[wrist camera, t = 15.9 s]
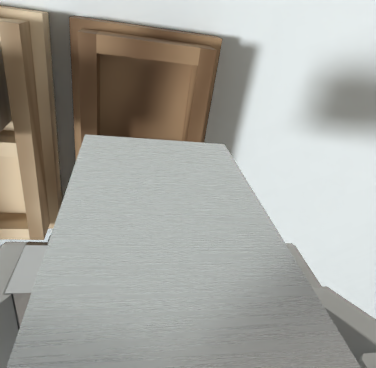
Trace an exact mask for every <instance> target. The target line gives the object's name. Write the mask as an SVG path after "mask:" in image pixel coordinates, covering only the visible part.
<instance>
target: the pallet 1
mask: <svg viewBox="0 0 376 368" xmlns="http://www.w3.org/2000/svg"><path fill="white" fill-rule="evenodd" d="M61 204H62V194H61V180H60V167H59V153H58V140H57V126H56V112H55V99H54V85H53V71H52V58H51V44H50V31H49V17H48V12H44V11H37V10H30V9H23V8H16V7H9V6H2V5H0V239H25V240H44V238H45V235H46V233H47V230H48V228H54V225H55V222H56V219H57V216H58V213H59V210H60V207H61Z"/></svg>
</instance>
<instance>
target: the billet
mask: <svg viewBox="0 0 376 368" xmlns="http://www.w3.org/2000/svg"><path fill="white" fill-rule="evenodd" d="M6 368H361V367H360V365H359V363H358V362H357V360H356V358H355V357H354V355H353V354H352V352H351V350H350V349H349V347H348V345H347V344H346V342H345V340H344V339H343V337H342V336H341V334H340V332H339V331H338V329H337V327H336V326H335V324H334V322H333V321H332V319H331V318H330V316H329V314H328V313H327V311H326V309H325V308H324V306H323V304H322V303H321V301H320V300H319V298H318V296H317V295H316V293H315V291H314V290H313V288H312V286H311V285H310V283H309V282H308V280H307V278H306V277H305V275H304V273H303V272H302V270H301V268H300V267H299V265H298V264H297V262H296V260H295V259H294V257H293V255H292V254H291V252H290V250H289V249H288V247H287V246H286V244H285V242H284V241H283V239H282V237H281V236H280V234H279V232H278V231H277V229H276V228H275V226H274V224H273V223H272V221H271V219H270V218H269V216H268V214H267V213H266V211H265V210H264V208H263V206H262V205H261V203H260V201H259V200H258V198H257V196H256V195H255V193H254V192H253V190H252V188H251V187H250V185H249V183H248V182H247V180H246V178H245V177H244V175H243V174H242V172H241V170H240V169H239V167H238V165H237V164H236V162H235V160H234V159H233V157H232V156H231V154H230V152H229V151H228V149H227V147H226V146H225V144H215V143H201V142H187V141H172V140H158V139H144V138H130V137H115V136H101V135H87V134H85V136H84V139H83V142H82V145H81V148H80V151H79V154H78V157H77V159H76V162H75V165H74V168H73V171H72V174H71V177H70V180H69V183H68V186H67V189H66V192H65V195H64V198H63V201H62V204H61V207H60V210H59V213H58V216H57V219H56V222H55V225H54V228H53V231H52V234H51V237H50V240H49V243H48V246H47V249H46V251H45V254H44V257H43V260H42V263H41V266H40V269H39V272H38V275H37V278H36V281H35V284H34V287H33V290H32V293H31V296H30V299H29V302H28V305H27V308H26V311H25V314H24V317H23V320H22V323H21V326H20V329H19V332H18V335H17V338H16V340H15V343H14V346H13V349H12V352H11V355H10V358H9V361H8V364H7V367H6Z"/></svg>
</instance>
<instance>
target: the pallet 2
mask: <svg viewBox="0 0 376 368" xmlns="http://www.w3.org/2000/svg"><path fill="white" fill-rule="evenodd" d="M69 24H70V46H71V69H72V92H73V114H74V137H75V159H77V157H78V154H79V151H80V148H81V145H82V142H83V139H84V136H85V134H87V135H101V136H115V137H130V138H144V139H158V140H172V141H187V142H201V143H204V139H205V133H206V128H207V122H208V117H209V111H210V105H211V100H212V94H213V88H214V83H215V77H216V71H217V66H218V60H219V55H220V49H221V43H222V39H221V38H219V37H217V36H211V35H204V34H197V33H190V32H183V31H176V30H169V29H162V28H155V27H148V26H141V25H134V24H127V23H120V22H113V21H106V20H99V19H92V18H85V17H79V16H71V17H69Z"/></svg>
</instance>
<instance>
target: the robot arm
mask: <svg viewBox="0 0 376 368" xmlns="http://www.w3.org/2000/svg"><path fill="white" fill-rule="evenodd" d="M48 243H49V242H5V243H4V244H3V245H2V246H1V247H0V368H6V367H7V364H8V361H9V358H10V355H11V352H12V349H13V346H14V343H15V340H16V338H17V335H18V332H19V329H20V326H21V323H22V320H23V317H24V314H25V311H26V308H27V305H28V302H29V299H30V296H31V293H32V290H33V287H34V284H35V281H36V278H37V275H38V272H39V269H40V266H41V263H42V260H43V257H44V254H45V251H46V249H47V246H48ZM285 244H286V246H287V247H288V249H289V250H290V252H291V254H292V255H293V257H294V259H295V260H296V262H297V264H298V265H299V267H300V268H301V270H302V272H303V273H304V275H305V277H306V278H307V280H308V282H309V283H310V285H311V286H312V288H313V290H314V291H315V293H316V295H317V296H318V298H319V300H320V301H321V303H322V304H323V306H324V308H325V309H326V311H327V313H328V314H329V316H330V318H331V319H332V321H333V322H334V324H335V326H336V327H337V329H338V331H339V332H340V334H341V336H342V337H343V339H344V340H345V342H346V344H347V345H348V347H349V349H350V350H351V352H352V354H353V355H354V357H355V358H356V360H357V362H358V363H359V365H360V367H361V368H376V319H374V318H373V317H371V316H370V315H368V314H367V313H365V312H364V311H362V310H361V309H359V308H358V307H356V306H355V305H354V304H352V303H351V302H349V301H348V300H346V299H345V298H343V297H342V296H340V295H339V294H337V293H336V292H334V291H333V290H331V289H330V288H328V287H322V286H321V285H320V283H319V282H318V280H317V279H316V277H315V275H314V274H313V272H312V271H311V269H310V268H309V266H308V265H307V263H306V262H305V260H304V259H303V257H302V255H301V254H300V252H299V251H298V249H297V248H296V246H295V245H293V244H292V243H285Z"/></svg>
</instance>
